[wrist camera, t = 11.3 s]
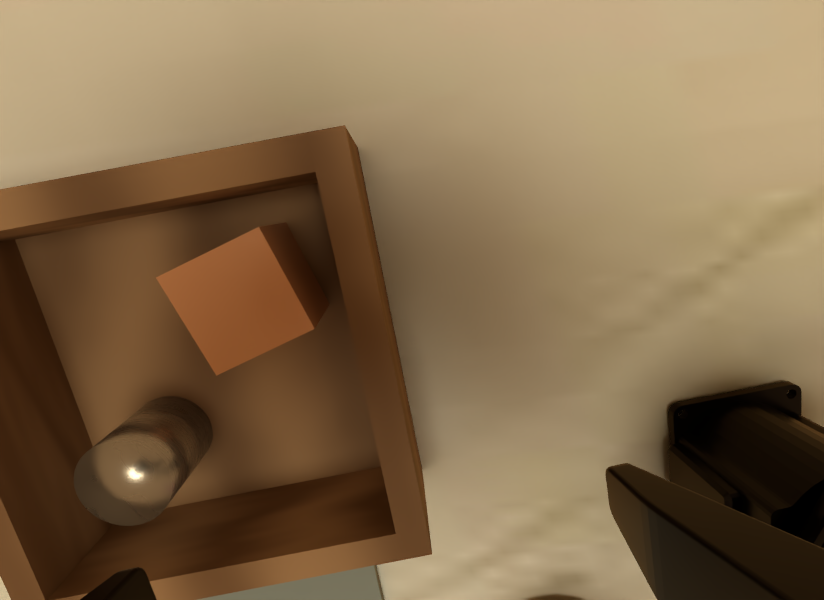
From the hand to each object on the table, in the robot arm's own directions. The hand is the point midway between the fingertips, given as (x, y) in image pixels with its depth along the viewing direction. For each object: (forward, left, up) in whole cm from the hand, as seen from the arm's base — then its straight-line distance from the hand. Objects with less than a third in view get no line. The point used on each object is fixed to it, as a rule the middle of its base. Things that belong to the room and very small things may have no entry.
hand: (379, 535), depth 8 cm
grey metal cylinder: (+11, +2, -12) cm, 16 cm away
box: (+8, -1, -13) cm, 15 cm away
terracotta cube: (+5, -4, -12) cm, 14 cm away
